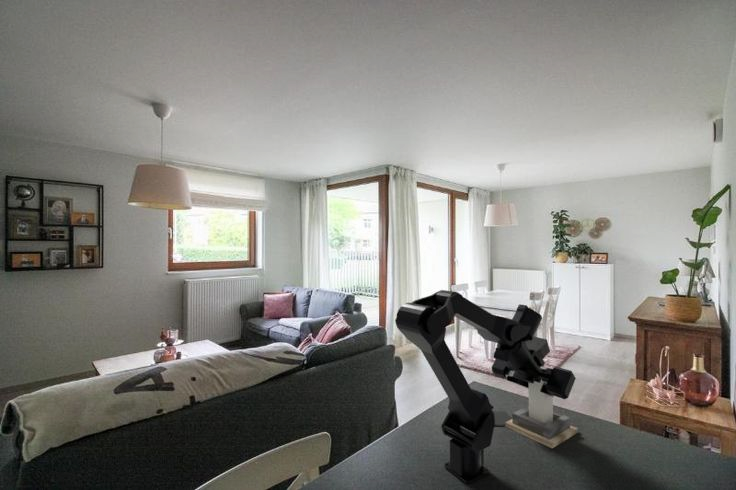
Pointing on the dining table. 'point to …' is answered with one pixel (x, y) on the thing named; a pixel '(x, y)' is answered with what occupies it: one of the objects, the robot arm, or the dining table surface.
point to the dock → (542, 427)
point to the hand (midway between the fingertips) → (543, 391)
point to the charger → (540, 404)
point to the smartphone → (501, 417)
